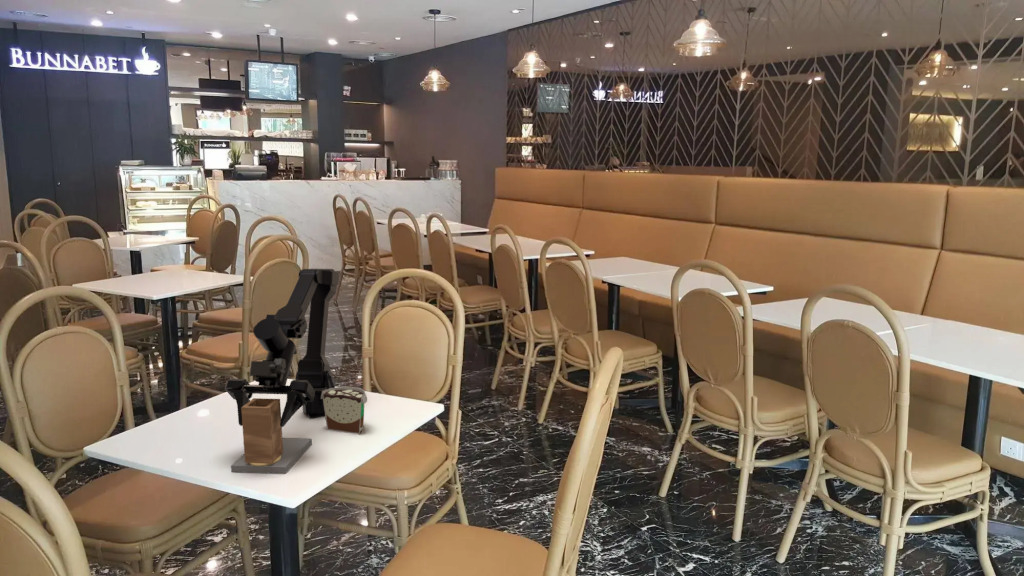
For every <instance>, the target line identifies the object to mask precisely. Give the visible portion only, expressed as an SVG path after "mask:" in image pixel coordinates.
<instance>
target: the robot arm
mask: <svg viewBox="0 0 1024 576" xmlns="http://www.w3.org/2000/svg"><path fill="white" fill-rule="evenodd" d="M335 271H336V270H335V269H333V268H303V269H300V270H299V272H298V279H297V282H296V283H295V286H294V287H293V290H292V292H291V293H290V297H289V298H288V301H287V303H286V305H284V306H283V307H281V308H279V309H278V310H277V311H276V313H275V314H267V315H266V316H265V318H263V319H261V320H260V321H258V322H257V323H256V324H255V326H254V327H253V336H254V337H255V338H256V340H257V341H258V342H259V345H260V346H261V347H262V348H263V349H264V350H265V351H266V352H267V354H266V357H265V359H262V361H261V360H259V361H258V360H253V361H252V360H251V361H250V369H249V376H250V377H254V381H255V382H256V383H258V384H250V383H249V381H248V380H247V379H246V378H230V379H228V380H227V381H226V383H225V385H224V390H225V392H227V393H228V395H229V396H230V397H231V398H232V399H233V400H235V402H236V406H237V407H236V408H237V419H238V425H239V426H240V427H243V426H242V412H241V407H243V406H244V405H245V404H247V403H248V402H249V401H251V398H252V397H253V394H257V395H258V394H259V395H286V402H285V405H284V409H283V411H282V413H281V422H280V426H281V427H282V428H283V427H284V426H285V425H286V424H287V423H288V422H289V420H290V419H291V418H292V417H293V416H294V415H295V413H297V411H299V410H300V409H301V407H302V413H304V415H306V416H307V417H308V418H309V419H313V418H319V417H323V416H325V410H324V403H323V399H321V394H322V391H324V390H327V389H330V388H336V385H337V384H336V379H335V378H334V376H333V374H332V372H331V365H330V363H329V361H328V360H327V357H326V355H325V354H326V344H327V343H326V342H327V332H328V329H327V328H328V317H329V306H330V301H331V300H332V299H333V297H334V296H335V295H336V292H337V287H338V285H339V282H340V276H339V273H338V272H335ZM309 308H310V309H309ZM308 309H309V316H308V317H309V318H308V319H309V320H308V322H307V319H306V314H307V311H308ZM307 329H308V330H307ZM307 331H308V332H307ZM306 332H307V341H306V342H307V343H306V352H305V353H306V354H305V355H304V356H303V357H302V358H301V359H299V360H298V363H297V371H296V374H295V379H292V380H291V381H290V384H289V385H287V382H288V377H291V375H292V371H291V366H292V363H293V360H294V355H297V354H298V352H297V351H298V350H297V348H296V347H297V346H296V344H295V342H294V341H293V339H302V338H303V337H304V335H305V334H306ZM291 339H292V340H291Z"/></svg>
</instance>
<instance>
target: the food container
mask: <svg viewBox="0 0 1024 576" xmlns="http://www.w3.org/2000/svg"><path fill="white" fill-rule="evenodd" d="M321 399H323V403H324V410H325V415H324V416H325V422H326V429H327V431H332V432H339V433H345V434H347V433H348V434H352V435H353V434H354V435H361V434H362V433H363V432H364V420H365V405H366V403H367V402H368V397H367V393H366V392H365V390H364V389H363V388H361V387H357V386H337V387H336V386H335V388H330V389H327V390H324V391H322V394H321Z"/></svg>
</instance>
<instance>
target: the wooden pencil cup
mask: <svg viewBox="0 0 1024 576" xmlns="http://www.w3.org/2000/svg"><path fill="white" fill-rule="evenodd" d="M281 411H282V410H281V398H252V399H250V401H249V402H248V403H247V404H245V405H244V406H243V407H241V412H242V426H241V427H242V436H243V438H242V439H243V454H244V453H245V463H267V464H272V463H273V462H274V461H275V460H276V459H277V458H278V457H279V456H280V455H281V454H282V453H283V440H282V438H283V429H282V428H283V427H281V426H280V422H281V417H282V413H281Z"/></svg>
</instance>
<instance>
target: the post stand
mask: <svg viewBox="0 0 1024 576" xmlns="http://www.w3.org/2000/svg"><path fill="white" fill-rule="evenodd" d="M282 440H283V453H282V454H281V455H280V456H279V457H278V458H277V459H276V460H275V461H274V462H273V463H272V464H267V463H245V453H244V452H243V454H241V456H239V458H238V459H236V460H235V461H234V462H233V463H232V464H231V465H230V470H231V473H248V474H249V473H250V474H252V473H253V474H277V475H278V474H279V475H280V474H282V475H285V474H287V473H288V471H290V469H292V467H293V466H294V465H295V464H296V463H297V462H298V461H299V459H300V458H302V456H303V455H304V454H305V453H306V452H307V451H308V449H309V448H310V447H312V445H313V441H312V440H313V439H312V438H311V437H310V438H307V437H305V438H304V437H282Z"/></svg>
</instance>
